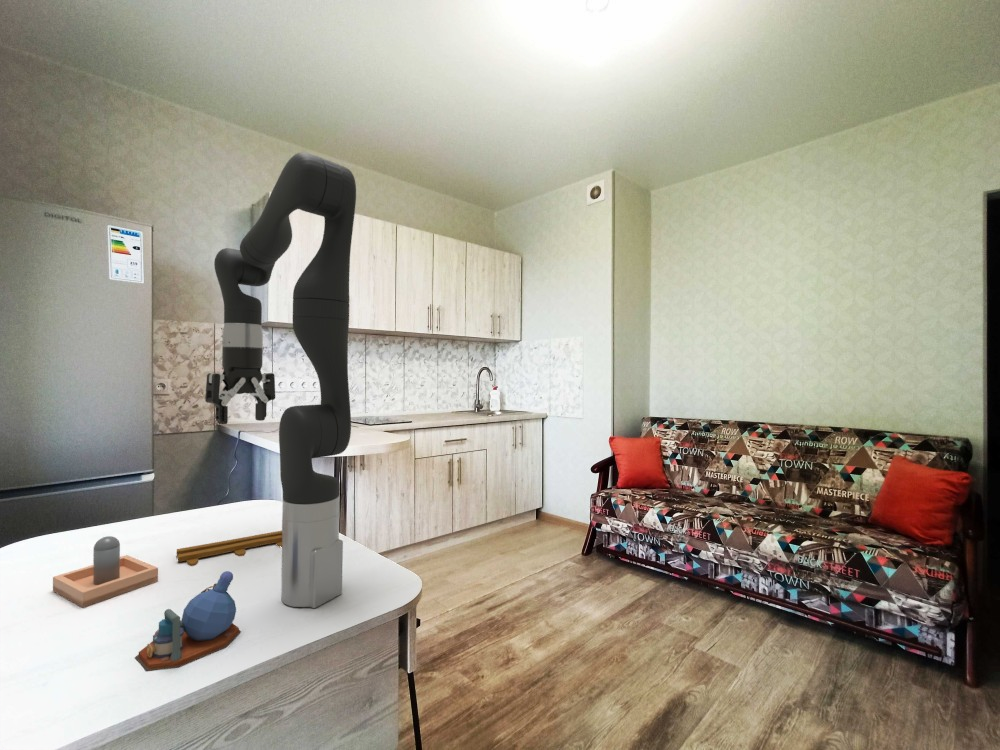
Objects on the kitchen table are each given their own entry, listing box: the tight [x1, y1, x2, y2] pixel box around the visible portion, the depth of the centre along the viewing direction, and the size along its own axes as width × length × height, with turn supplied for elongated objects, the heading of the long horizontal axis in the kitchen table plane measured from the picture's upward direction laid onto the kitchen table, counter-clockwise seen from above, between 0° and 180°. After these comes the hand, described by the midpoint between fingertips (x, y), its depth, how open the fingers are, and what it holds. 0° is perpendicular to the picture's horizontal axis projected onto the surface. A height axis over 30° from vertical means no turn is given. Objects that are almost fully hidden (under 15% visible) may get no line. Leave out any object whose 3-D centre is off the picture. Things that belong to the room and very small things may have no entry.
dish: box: [52, 554, 159, 608], centre depth 84 cm, size 11×11×2 cm
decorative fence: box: [176, 530, 282, 567], centre depth 104 cm, size 25×2×10 cm
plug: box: [92, 535, 121, 585], centre depth 84 cm, size 4×4×8 cm
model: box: [134, 570, 242, 672], centre depth 68 cm, size 12×9×9 cm
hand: (242, 422), depth 101 cm, fingers open, 8 cm apart
